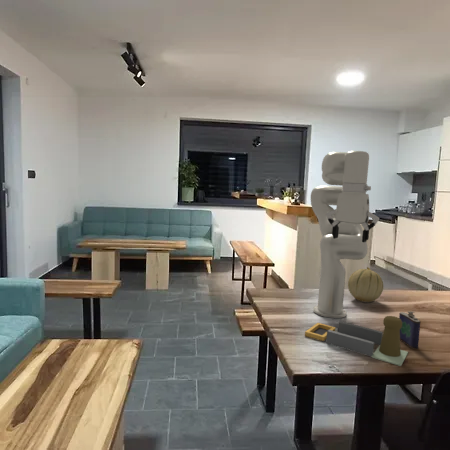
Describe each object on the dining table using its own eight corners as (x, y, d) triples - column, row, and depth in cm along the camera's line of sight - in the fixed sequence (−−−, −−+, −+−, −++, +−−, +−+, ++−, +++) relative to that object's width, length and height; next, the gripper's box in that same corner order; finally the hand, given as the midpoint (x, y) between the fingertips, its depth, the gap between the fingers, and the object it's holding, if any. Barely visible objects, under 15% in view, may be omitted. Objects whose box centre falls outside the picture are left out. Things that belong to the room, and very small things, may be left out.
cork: (398, 358, 107) (402, 322, 106) (376, 352, 110) (380, 317, 109) (402, 351, 112) (406, 317, 110) (381, 346, 115) (384, 312, 114)
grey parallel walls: (338, 332, 126) (339, 320, 126) (381, 343, 118) (382, 331, 117) (326, 343, 116) (327, 331, 116) (371, 356, 108) (373, 343, 108)
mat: (380, 345, 117) (380, 344, 117) (407, 353, 112) (408, 351, 112) (371, 357, 108) (371, 356, 108) (400, 366, 103) (401, 364, 103)
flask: (395, 337, 124) (398, 306, 123) (403, 337, 124) (406, 306, 123) (412, 349, 115) (416, 316, 114) (421, 349, 115) (425, 316, 114)
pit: (317, 326, 130) (317, 322, 130) (335, 331, 126) (335, 327, 126) (304, 336, 121) (305, 331, 121) (323, 341, 117) (324, 337, 117)
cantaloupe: (348, 304, 158) (351, 270, 156) (345, 294, 172) (347, 263, 171) (385, 308, 155) (388, 273, 153) (378, 298, 169) (381, 266, 167)
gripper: (384, 190, 119) (379, 242, 121) (332, 188, 129) (328, 235, 131) (378, 190, 113) (373, 244, 115) (324, 187, 123) (320, 237, 125)
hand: (349, 240), depth 123 cm, fingers open, 9 cm apart
